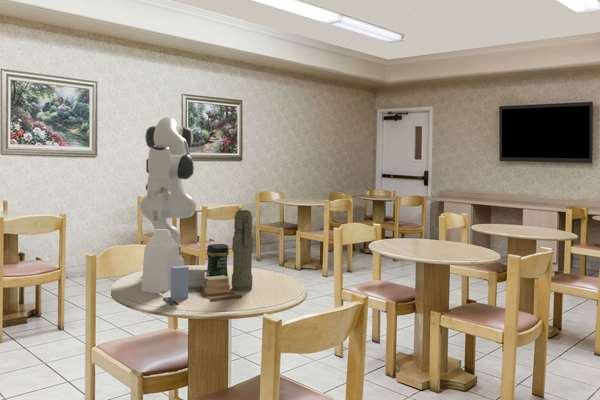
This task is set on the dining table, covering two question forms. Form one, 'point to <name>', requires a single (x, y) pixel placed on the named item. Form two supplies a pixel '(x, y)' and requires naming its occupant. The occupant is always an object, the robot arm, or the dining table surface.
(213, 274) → the coffee jar
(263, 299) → the dining table surface
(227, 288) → the offcut low
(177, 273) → the tall pale blue box
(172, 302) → the mat
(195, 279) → the teacup
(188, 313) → the dining table surface
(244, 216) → the thermos
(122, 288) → the dining table surface
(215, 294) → the tray
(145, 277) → the milk
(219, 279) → the offcut top
